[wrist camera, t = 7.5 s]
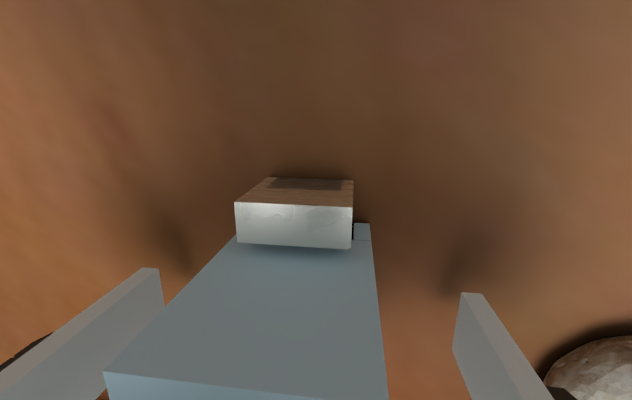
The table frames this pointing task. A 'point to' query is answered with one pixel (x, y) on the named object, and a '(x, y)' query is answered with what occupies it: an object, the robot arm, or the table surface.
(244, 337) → the carriage
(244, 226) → the rail
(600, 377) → the stone
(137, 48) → the table surface
